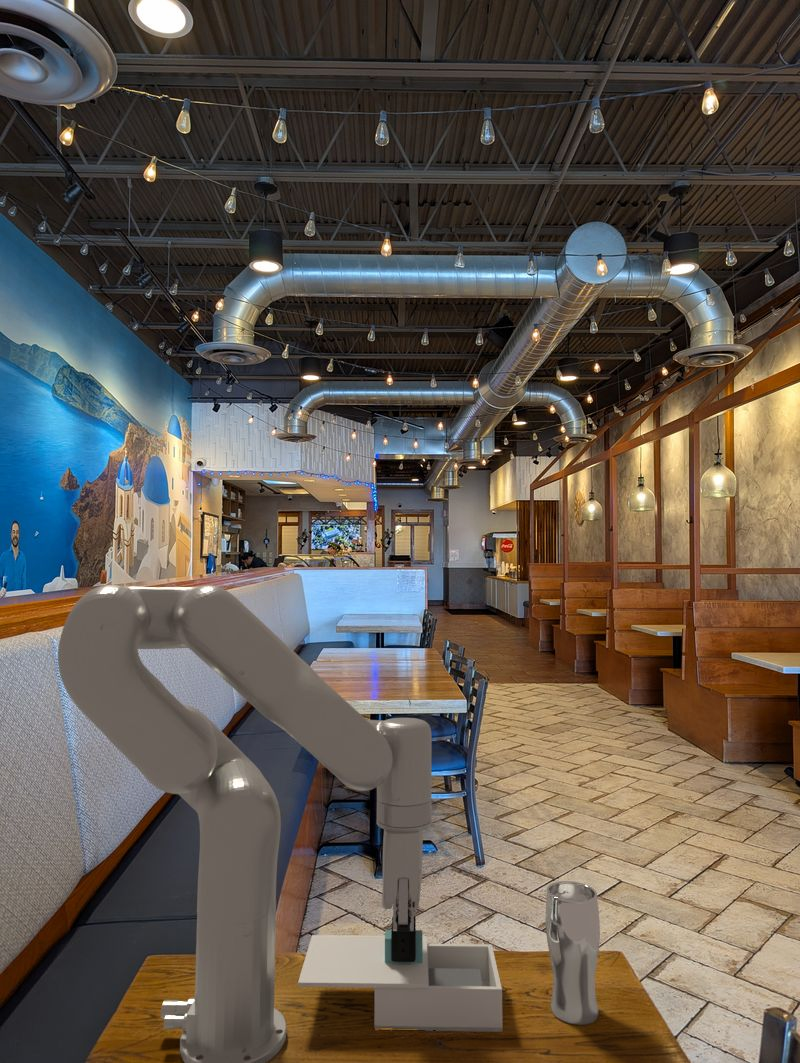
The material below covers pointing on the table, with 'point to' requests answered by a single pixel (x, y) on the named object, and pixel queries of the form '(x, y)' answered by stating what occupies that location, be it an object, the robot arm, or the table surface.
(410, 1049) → the table surface
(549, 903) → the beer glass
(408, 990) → the mailer box
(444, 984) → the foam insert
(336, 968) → the box lid
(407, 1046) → the table surface
